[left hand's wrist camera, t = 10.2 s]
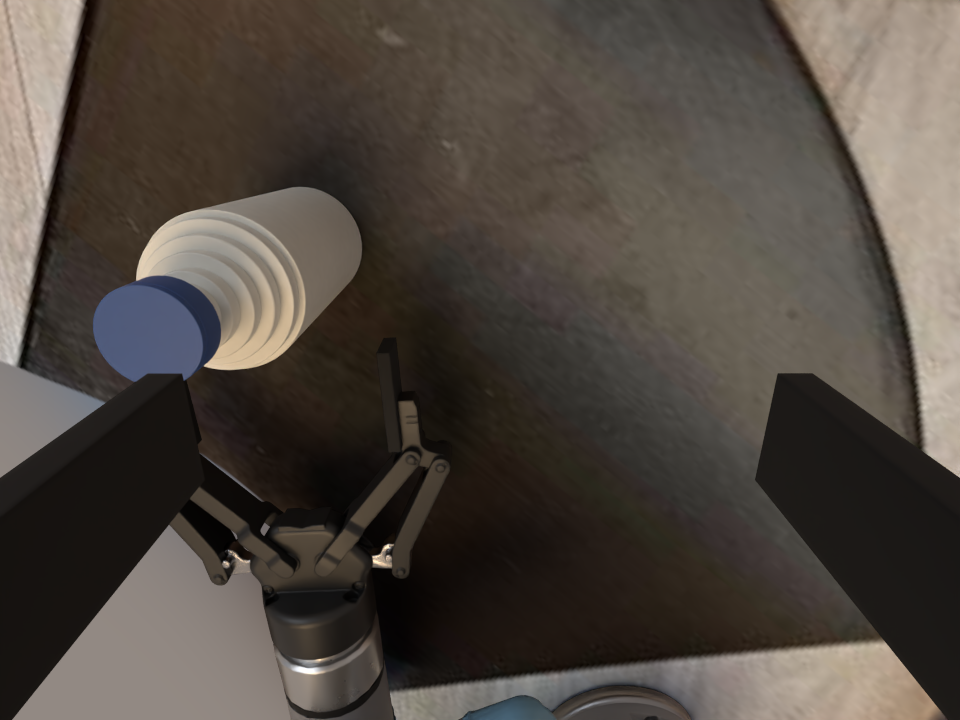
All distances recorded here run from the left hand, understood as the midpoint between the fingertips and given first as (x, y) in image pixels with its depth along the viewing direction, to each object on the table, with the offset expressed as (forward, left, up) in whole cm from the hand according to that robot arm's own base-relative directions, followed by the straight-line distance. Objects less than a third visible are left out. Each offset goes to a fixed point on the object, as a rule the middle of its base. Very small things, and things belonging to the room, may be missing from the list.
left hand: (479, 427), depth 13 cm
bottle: (-6, -10, -27) cm, 29 cm away
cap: (-6, -10, -8) cm, 14 cm away
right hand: (-2, -13, -20) cm, 24 cm away
